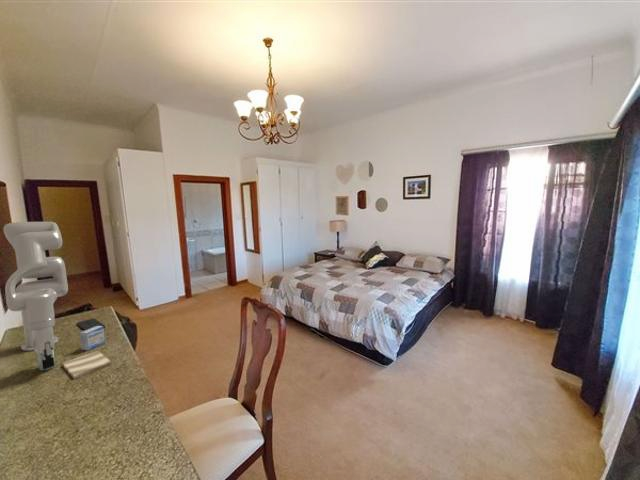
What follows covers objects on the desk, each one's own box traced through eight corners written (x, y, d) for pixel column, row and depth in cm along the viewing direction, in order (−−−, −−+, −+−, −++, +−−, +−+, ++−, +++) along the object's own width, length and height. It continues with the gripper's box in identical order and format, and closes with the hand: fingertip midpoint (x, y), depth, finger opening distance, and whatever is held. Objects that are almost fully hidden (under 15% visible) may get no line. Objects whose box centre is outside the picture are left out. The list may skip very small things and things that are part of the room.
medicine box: (88, 351, 124) (86, 333, 123) (80, 350, 125) (79, 332, 124) (105, 342, 132) (103, 326, 131) (97, 342, 133) (96, 325, 132)
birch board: (62, 365, 112) (62, 363, 112) (98, 353, 122) (97, 350, 122) (74, 378, 103) (73, 376, 103) (111, 364, 113) (111, 361, 113)
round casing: (38, 368, 110) (36, 349, 109) (53, 362, 114) (51, 345, 113) (40, 371, 108) (38, 353, 107) (56, 366, 112) (54, 348, 111)
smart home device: (94, 317, 161) (105, 325, 149) (94, 320, 161) (106, 328, 149) (76, 322, 154) (86, 331, 142) (76, 325, 154) (86, 334, 143)
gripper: (24, 321, 111) (29, 363, 113) (33, 332, 101) (39, 377, 103) (49, 315, 117) (54, 355, 119) (60, 325, 107) (65, 367, 109)
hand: (47, 364), depth 111 cm, fingers closed on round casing, 4 cm apart
